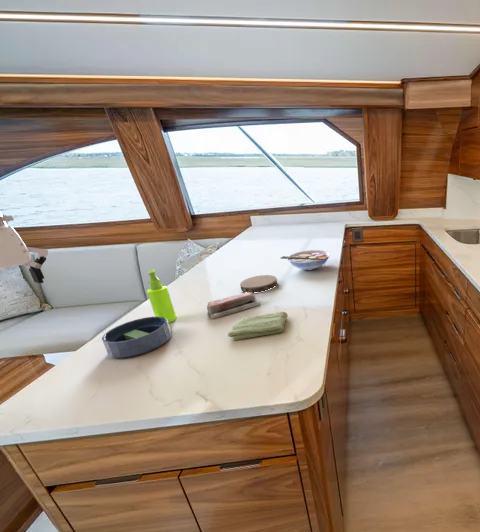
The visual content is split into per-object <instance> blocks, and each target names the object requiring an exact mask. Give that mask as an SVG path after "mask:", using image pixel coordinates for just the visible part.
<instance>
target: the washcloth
mask: <svg viewBox="0 0 480 532" xmlns="http://www.w3.org/2000/svg"><path fill="white" fill-rule="evenodd" d="M288 316H289V315H288V313H287V312H286V311H283V310H282V311H276V312H270V313H264V314H258V315H251V316H244V317H241V318H240V319H239V320H237V322H236V323H235V324H234V325H233V326H232V329H231V330H230V331H229V332H228V333H227V337H229V338H232V340H233V341H238V340H244V339H249V338H256V337H261V336H267V335H268V336H269V335H275V334H279V333H281V332H283V331H284V329H285V325H286V323H285V322H286V321H287V319H288Z"/></svg>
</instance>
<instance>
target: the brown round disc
mask: <svg viewBox="0 0 480 532" xmlns="http://www.w3.org/2000/svg"><path fill="white" fill-rule="evenodd" d="M276 284H277V285H278V280H277V276H275V275H271V274H263V275H261V274H260V275H256V276H251V277H248V278H246V279H244V280H242V281H241V282H240V283H239V286H240V290H242V291H243V292H242V291H241V292H242V293H244V292H251V293H253V294H255V293H254V292H261V291H265V290H268V289H270V288H273V287H274V286H276ZM276 287H277V286H276ZM273 289H274V288H273ZM268 291H269V290H268ZM265 292H266V291H265ZM261 293H262V292H261Z"/></svg>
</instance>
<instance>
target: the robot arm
mask: <svg viewBox="0 0 480 532" xmlns="http://www.w3.org/2000/svg"><path fill="white" fill-rule="evenodd" d="M12 221H14V217H13V216H12V215H5V214H4V213H2V211H1V210H0V270H3V269H4V270H5V269H8V268H9V269H10V268H13V267H18V266H23V265H25V266H27V267H29V268H28V271H29V273H30V276H31V278H32V280H33V282H34V283H35V284H36V283H37V284H44V279H45V276H44V274H43V272H42V269H41V268H42V267H43V264H44V263H45V262H46V261H47V256H48V253H49V250H48V249H45V248H40V247H39V248H38V247H32V246H27V245H26V243H24V241H23V239H22V238H21V236H20V235H19V233H18V232H17V231H16V230H15V229H14V227H13V226H12V225H9V222H12ZM31 253H36V254H37V258H36V259H34V260H33V259H32V255H31Z"/></svg>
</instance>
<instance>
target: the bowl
mask: <svg viewBox="0 0 480 532" xmlns="http://www.w3.org/2000/svg"><path fill="white" fill-rule="evenodd" d="M169 323H170V322H169ZM169 323H168V320H167V319H166V318H164V317H155V316H147V317H142V318H137V319H133V320H130V321H127V322H124V323H122V324H119V325H117V326H114V327H113V328H111V329H110V330H108V331H106V332H105V333H103V336H102V337H101V341H102V343H103V346H104V348H105V351H106V353H107V355H108V356H109V357H112V358H131V357H137V356H139V355H143V354H147V353H149V352H151V351H153V350H155V349H157V348H159V347H161V346H162V345H164V344H165V343H166V342H168V341H169V340H170V338H171V337H172V333H173V332H172V330H171V327H170V324H169ZM135 329H136V330H139V331H143V332H146V333H149V334H147V335H144V336H142V337H139V338H135V339H131V340H127V341H126V340H125V337H124V334H126V333H128V332H130V331H133V330H135Z"/></svg>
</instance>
